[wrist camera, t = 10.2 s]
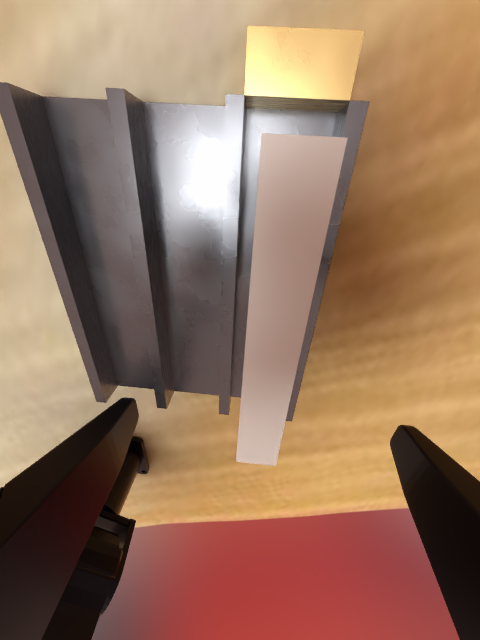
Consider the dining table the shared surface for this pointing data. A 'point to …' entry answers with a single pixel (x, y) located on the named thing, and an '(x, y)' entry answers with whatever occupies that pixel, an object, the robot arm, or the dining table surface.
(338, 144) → the panel
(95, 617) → the robot arm
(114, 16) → the dining table surface
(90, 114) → the rack
